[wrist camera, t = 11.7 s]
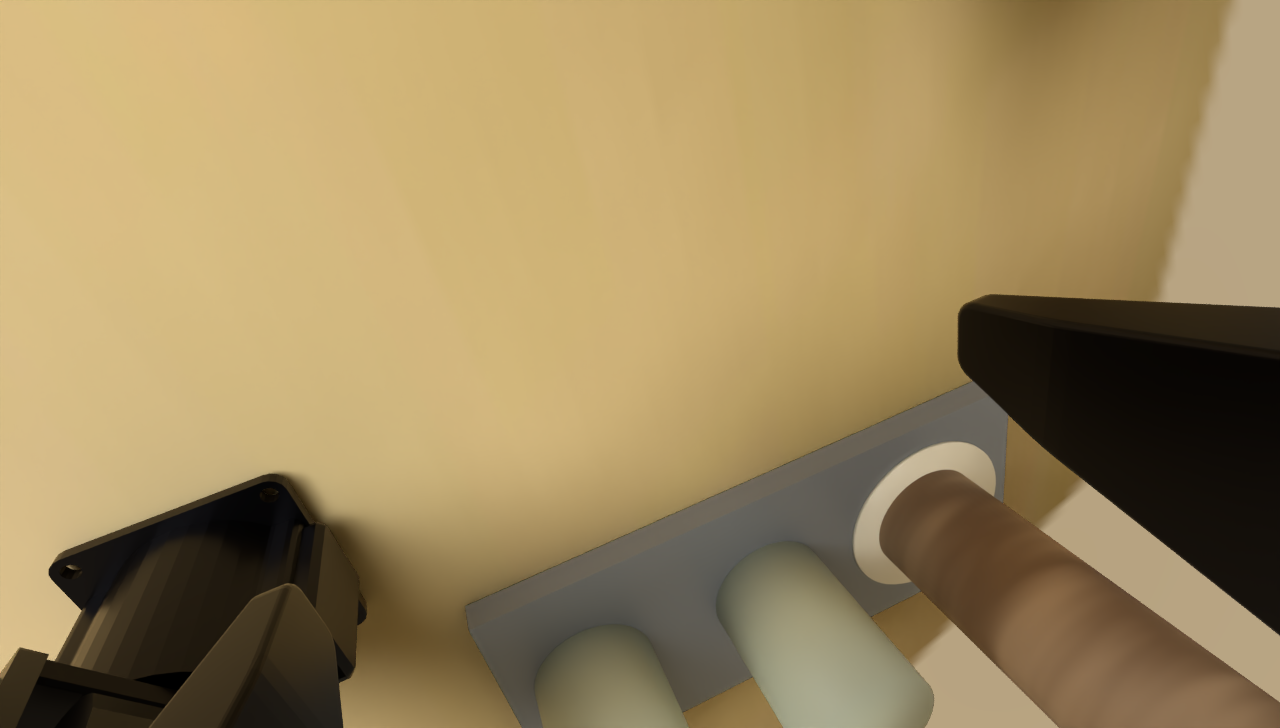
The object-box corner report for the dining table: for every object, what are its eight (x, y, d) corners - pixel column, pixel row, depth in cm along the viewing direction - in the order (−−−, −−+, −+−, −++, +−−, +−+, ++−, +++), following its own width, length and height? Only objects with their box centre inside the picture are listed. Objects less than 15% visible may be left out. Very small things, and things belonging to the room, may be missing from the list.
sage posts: (555, 736, 27) (604, 926, 21) (517, 661, 25) (559, 852, 19) (824, 603, 30) (934, 740, 24) (813, 523, 27) (933, 653, 21)
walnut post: (865, 568, 30) (1157, 876, 18) (898, 472, 28) (1245, 751, 17) (950, 556, 31) (1261, 830, 20) (986, 466, 29) (1351, 713, 18)
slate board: (544, 754, 29) (551, 784, 28) (465, 606, 25) (469, 634, 23) (981, 536, 34) (1003, 553, 33) (987, 374, 29) (1013, 388, 28)
